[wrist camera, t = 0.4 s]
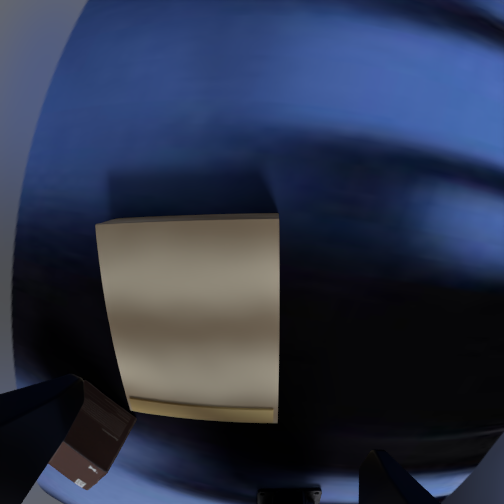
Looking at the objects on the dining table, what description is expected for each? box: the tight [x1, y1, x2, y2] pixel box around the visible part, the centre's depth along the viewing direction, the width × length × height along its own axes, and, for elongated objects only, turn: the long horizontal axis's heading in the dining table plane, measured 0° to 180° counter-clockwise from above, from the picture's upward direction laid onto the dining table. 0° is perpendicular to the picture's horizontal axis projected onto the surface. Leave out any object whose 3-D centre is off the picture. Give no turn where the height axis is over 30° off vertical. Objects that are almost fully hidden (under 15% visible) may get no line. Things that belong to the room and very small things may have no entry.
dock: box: [95, 213, 279, 423], centre depth 21 cm, size 14×11×3 cm
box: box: [48, 380, 137, 490], centre depth 22 cm, size 6×6×7 cm
